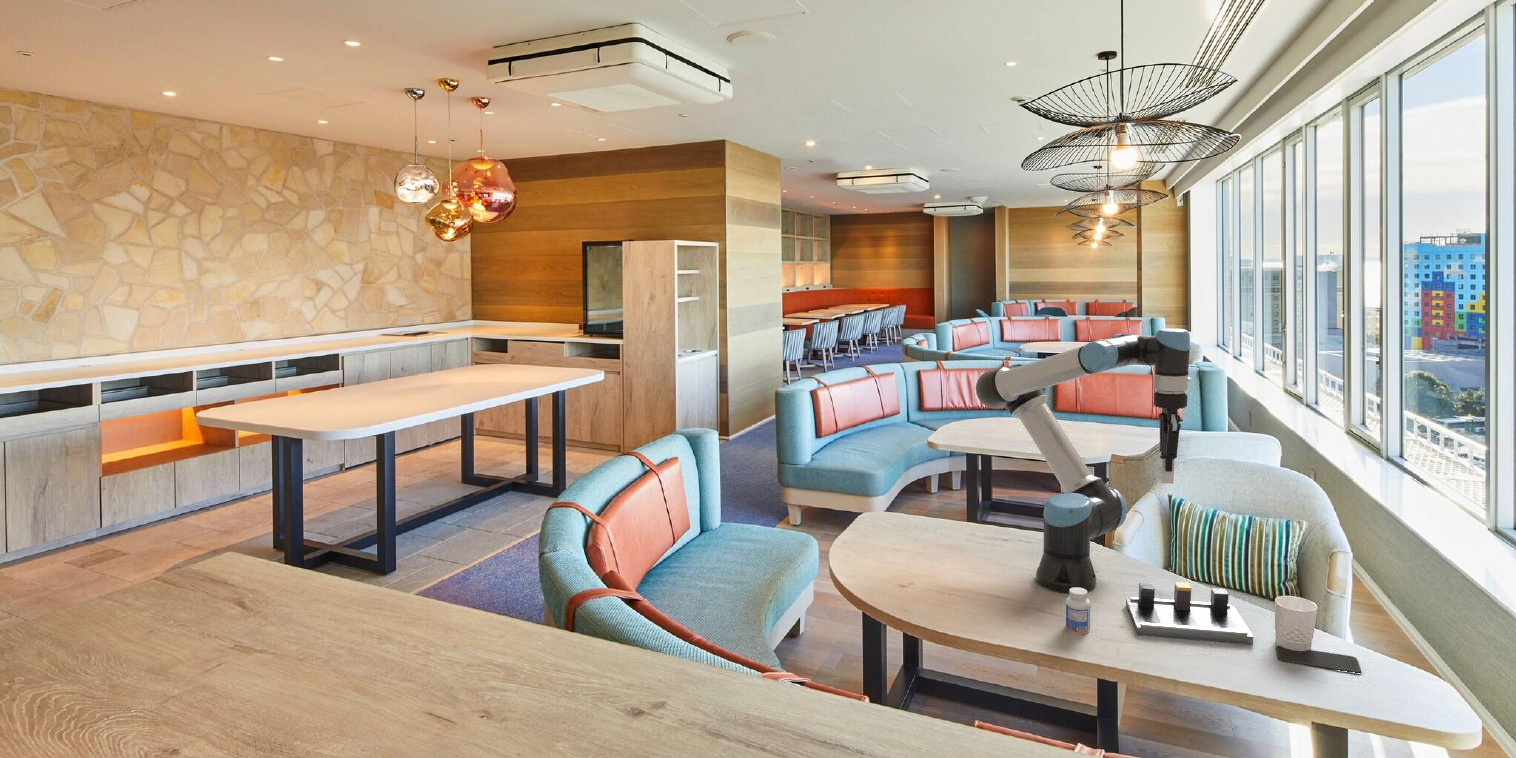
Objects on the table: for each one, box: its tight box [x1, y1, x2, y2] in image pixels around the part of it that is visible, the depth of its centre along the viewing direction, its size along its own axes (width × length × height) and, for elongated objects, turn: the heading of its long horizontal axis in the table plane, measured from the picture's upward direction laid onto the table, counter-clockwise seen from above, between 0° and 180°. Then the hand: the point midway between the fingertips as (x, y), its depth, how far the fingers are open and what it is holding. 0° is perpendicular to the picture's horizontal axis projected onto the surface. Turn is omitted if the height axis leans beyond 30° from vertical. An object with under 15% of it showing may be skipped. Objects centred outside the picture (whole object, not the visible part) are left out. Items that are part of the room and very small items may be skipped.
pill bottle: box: [1065, 587, 1091, 635], centre depth 194 cm, size 6×5×10 cm
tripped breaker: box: [1173, 581, 1192, 611], centre depth 199 cm, size 3×3×6 cm
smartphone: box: [1275, 645, 1362, 674], centre depth 177 cm, size 7×1×15 cm
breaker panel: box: [1125, 582, 1254, 646], centre depth 195 cm, size 24×16×7 cm, turn 74°
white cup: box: [1274, 595, 1318, 651], centre depth 183 cm, size 8×8×10 cm
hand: (1166, 482), depth 208 cm, fingers closed
